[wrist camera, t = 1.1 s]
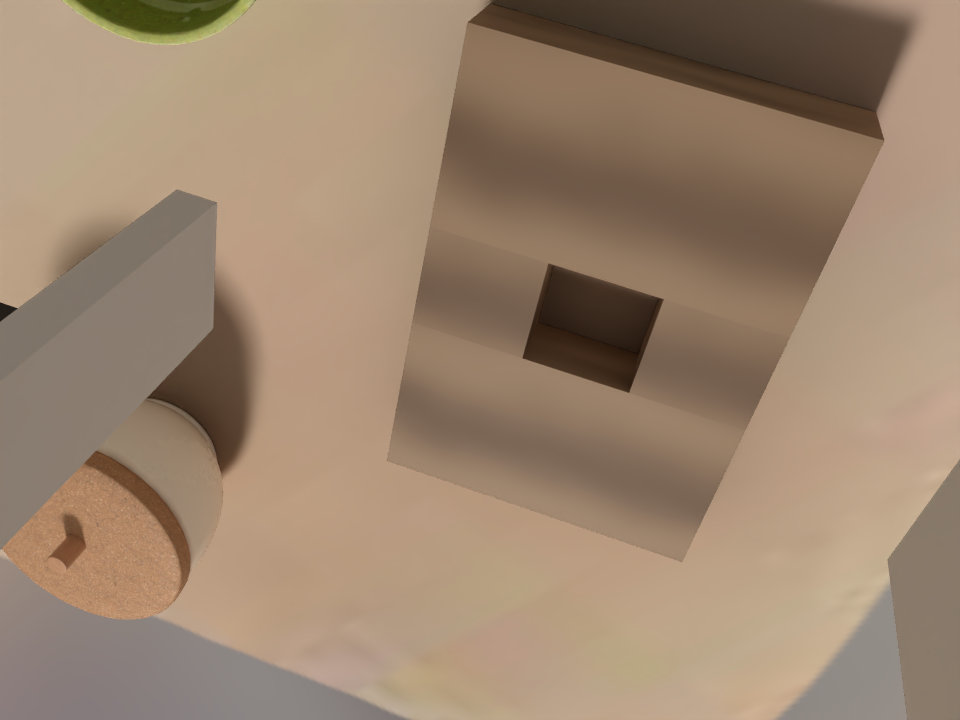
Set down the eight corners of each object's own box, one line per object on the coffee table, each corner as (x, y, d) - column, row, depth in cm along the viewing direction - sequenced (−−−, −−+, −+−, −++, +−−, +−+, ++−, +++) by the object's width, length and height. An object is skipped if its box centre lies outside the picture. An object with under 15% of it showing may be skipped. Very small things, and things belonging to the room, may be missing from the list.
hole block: (490, 3, 33) (467, 22, 31) (875, 112, 31) (884, 140, 29) (408, 423, 44) (386, 460, 42) (687, 517, 43) (682, 562, 41)
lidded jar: (134, 323, 46) (7, 433, 38) (293, 464, 48) (202, 594, 41) (47, 425, 52) (-79, 537, 44) (193, 546, 54) (97, 673, 46)
